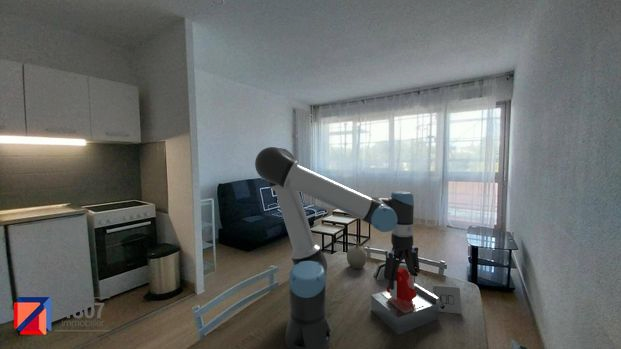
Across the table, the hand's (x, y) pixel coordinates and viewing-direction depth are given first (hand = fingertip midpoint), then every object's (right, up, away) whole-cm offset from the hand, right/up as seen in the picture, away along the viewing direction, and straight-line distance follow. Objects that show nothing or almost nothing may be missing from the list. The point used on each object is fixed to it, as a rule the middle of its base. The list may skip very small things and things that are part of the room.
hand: (401, 294), depth 86 cm
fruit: (-8, -6, +39) cm, 40 cm away
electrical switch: (+18, -8, +4) cm, 20 cm away
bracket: (0, -1, 0) cm, 1 cm away
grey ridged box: (+1, -8, +1) cm, 8 cm away
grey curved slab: (+6, -7, +28) cm, 30 cm away
